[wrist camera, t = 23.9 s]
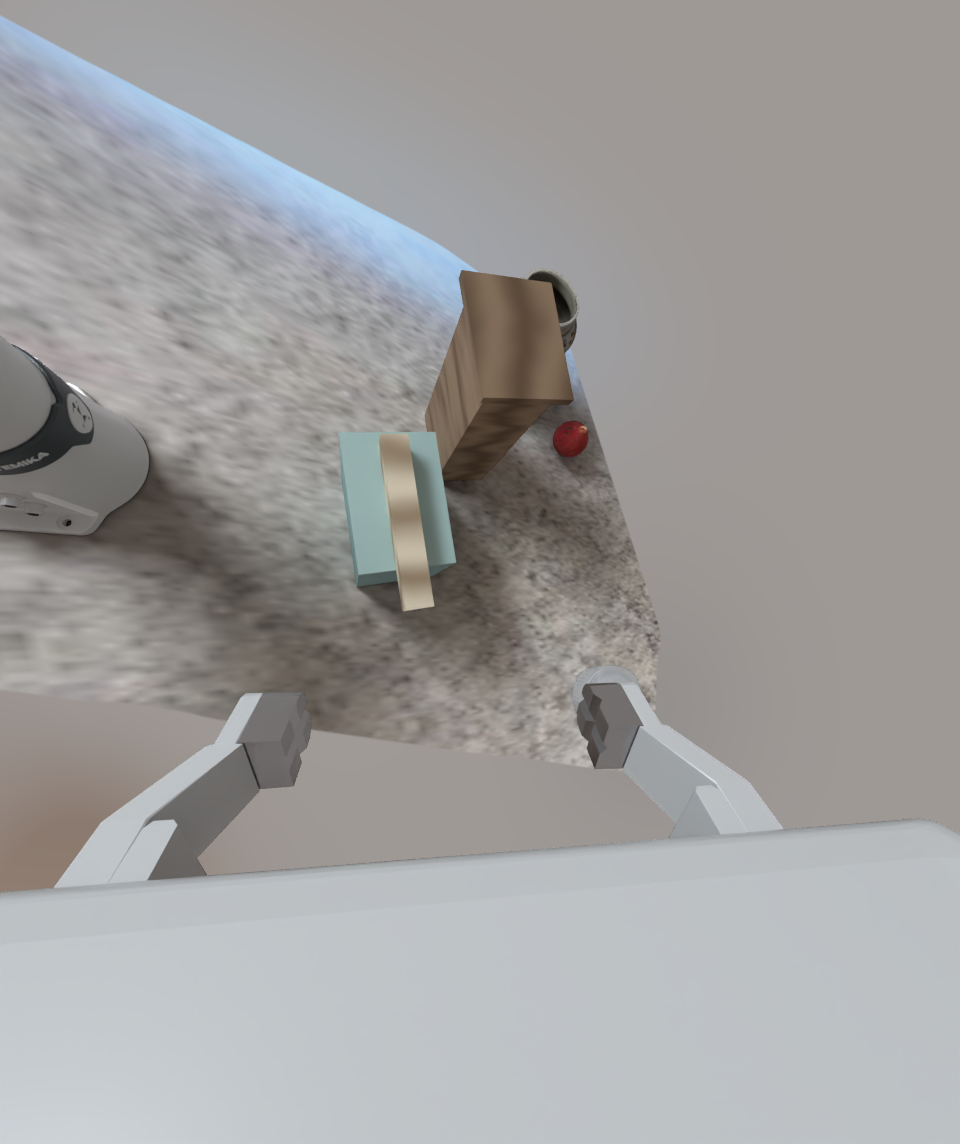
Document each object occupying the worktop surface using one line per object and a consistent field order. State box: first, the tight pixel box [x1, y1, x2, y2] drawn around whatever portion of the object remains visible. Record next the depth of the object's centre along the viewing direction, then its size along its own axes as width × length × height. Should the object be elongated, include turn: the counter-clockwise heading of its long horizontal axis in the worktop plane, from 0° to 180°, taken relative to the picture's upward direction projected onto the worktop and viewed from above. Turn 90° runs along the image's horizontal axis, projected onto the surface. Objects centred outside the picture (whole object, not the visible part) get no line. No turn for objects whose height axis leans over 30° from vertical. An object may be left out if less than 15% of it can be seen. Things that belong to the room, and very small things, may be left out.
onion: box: [553, 421, 588, 457], centre depth 66 cm, size 6×6×8 cm
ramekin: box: [572, 665, 641, 713], centre depth 63 cm, size 11×11×5 cm
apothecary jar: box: [521, 268, 579, 352], centre depth 59 cm, size 12×12×18 cm
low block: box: [339, 432, 456, 587], centre depth 51 cm, size 11×16×15 cm
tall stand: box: [425, 270, 573, 481], centre depth 50 cm, size 10×13×26 cm
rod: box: [378, 434, 434, 612], centre depth 42 cm, size 19×3×3 cm, turn 10°
